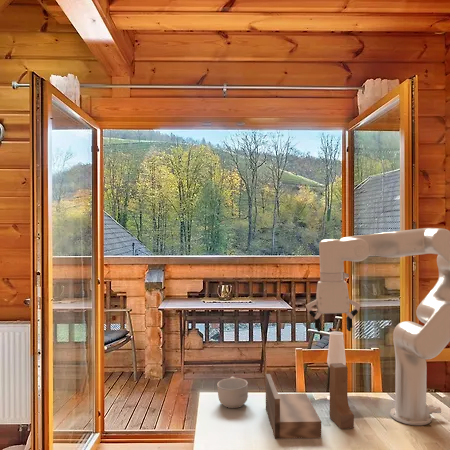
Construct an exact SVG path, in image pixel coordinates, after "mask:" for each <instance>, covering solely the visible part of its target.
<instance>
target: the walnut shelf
mask: <svg viewBox="0 0 450 450" xmlns="http://www.w3.org/2000/svg"><path fill="white" fill-rule="evenodd" d="M272 377H273V376H272V375H271V373H266V374H265V410H266V414H267V417H268V421H269V425H270V426H271V430H272V433H273V438H274V439H275V440H277V439H278V440H281V439H282V440H283V439H286V440H287V439H288V440H289V439H322V420H321V418H320V416H319V414H318V413H317V411H316V409H315V407H314V406H313V404H312V402H311V400H310V399H309V397H308V395H307V393H279V392H278V391H277V388H276V385H275V383H274V380H273V378H272Z"/></svg>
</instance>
